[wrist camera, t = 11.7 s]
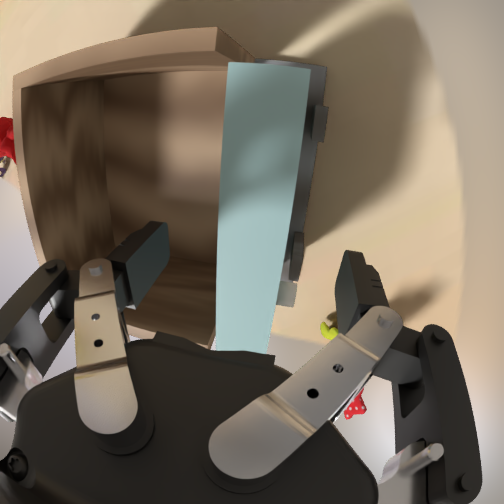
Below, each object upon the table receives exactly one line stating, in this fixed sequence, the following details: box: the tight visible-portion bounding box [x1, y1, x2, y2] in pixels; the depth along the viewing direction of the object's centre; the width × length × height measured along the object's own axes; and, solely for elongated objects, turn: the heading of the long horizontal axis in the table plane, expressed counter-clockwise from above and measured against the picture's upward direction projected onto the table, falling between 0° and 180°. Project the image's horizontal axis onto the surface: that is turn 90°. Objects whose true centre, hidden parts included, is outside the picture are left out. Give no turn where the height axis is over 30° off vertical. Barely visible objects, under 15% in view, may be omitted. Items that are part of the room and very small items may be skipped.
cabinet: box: [13, 27, 329, 350], centre depth 20 cm, size 20×21×11 cm
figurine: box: [0, 117, 17, 177], centre depth 24 cm, size 6×8×15 cm
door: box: [216, 62, 311, 354], centre depth 18 cm, size 16×4×12 cm, turn 175°
